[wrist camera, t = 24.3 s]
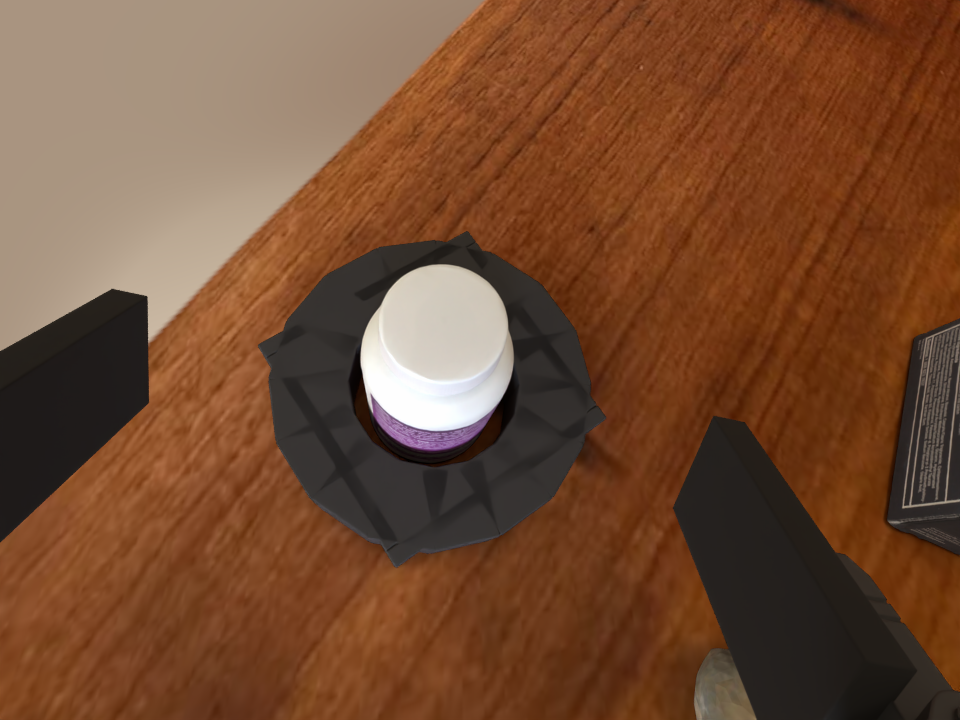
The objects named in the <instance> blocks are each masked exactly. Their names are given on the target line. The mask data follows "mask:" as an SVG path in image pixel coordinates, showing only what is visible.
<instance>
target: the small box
mask: <svg viewBox="0 0 960 720" xmlns="http://www.w3.org/2000/svg"><path fill="white" fill-rule="evenodd" d="M887 521H888V522H889V523H890V524H891V525H892V526H893V527H894V528H896V529H899V530H900V531H903V532H906V533H911V534H913V535H916V536H917V537H918V538H920V539H925V540H927V541H929V542H931V543H934V544H936V545H937V546H941V547H943V548H945V549H947V550H950V551H951V552H953V553H955V554H959V555H960V318H959V319H957V320H955V321H953V322H950V323H949V324H946V325H943V326H941V327H939V328H936V329H934V330H932V331H929V332H927V333H924V334H921V335H918V336H916V337H915V338H914V344H913V350H912V356H911V362H910V369H909V376H908V383H907V389H906V396H905V403H904V409H903V416H902V423H901V429H900V436H899V443H898V449H897V456H896V462H895V470H894V475H893V482H892V491H891V498H890V503H889V510H888V517H887Z"/></svg>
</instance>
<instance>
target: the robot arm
mask: <svg viewBox="0 0 960 720" xmlns="http://www.w3.org/2000/svg"><path fill="white" fill-rule="evenodd" d="M147 305H148V301H147V296H144V295H139V294H134V293H129V292H124V291H120V290H115V289H111V290H110V291H108V292H106V293H104V294H102V295H100V296H99V297H97V298H95V299H93V300H91V301H90V302H88V303H86V304H84V305H82V306H81V307H79V308H77V309H75V310H74V311H72V312H70V313H68V314H66V315H65V316H63V317H61V318H59V319H57V320H56V321H54V322H52V323H50V324H48V325H47V326H45V327H43V328H41V329H40V330H38V331H36V332H34V333H32V334H31V335H29V336H27V337H25V338H23V339H21V340H20V341H18V342H16V343H14V344H13V345H11V346H9V347H7V348H6V349H4V350H2V351H0V542H1V541H2V540H3V539H4V538H6V537H7V536H8V535H9V534H10V533H11V532H12V531H13V530H14V529H15V528H16V527H17V526H18V525H19V524H20V523H22V522H23V521H24V520H25V519H26V518H27V517H28V516H29V515H30V514H31V513H32V512H33V511H34V510H35V509H36V508H37V507H39V506H40V505H41V504H42V503H43V502H44V501H45V500H46V499H47V498H48V497H49V496H50V495H51V494H52V493H53V492H55V491H56V490H57V489H58V488H59V487H60V486H61V485H62V484H63V483H64V482H65V481H66V480H67V479H68V478H69V477H70V476H72V475H73V474H74V473H75V472H76V471H77V470H78V469H79V468H80V467H81V466H82V465H83V464H84V463H85V462H86V461H88V460H89V459H90V458H91V457H92V456H93V455H94V454H95V453H96V452H97V451H98V450H99V449H100V448H101V447H102V446H103V445H105V444H106V443H107V442H108V441H109V440H110V439H111V438H112V437H113V436H114V435H115V434H116V433H117V432H118V431H119V430H120V429H122V428H123V427H124V426H125V425H126V424H127V423H128V422H129V421H130V420H131V419H132V418H133V417H134V416H135V415H136V414H138V413H139V412H140V411H141V410H142V409H143V408H144V407H145V406H146V405H147V404H148V403H149V376H148V306H147ZM673 509H674V512H675V514H676V517H677V519H678V522H679V524H680V527H681V529H682V532H683V534H684V537H685V539H686V542H687V544H688V547H689V550H690V552H691V555H692V557H693V560H694V562H695V565H696V567H697V570H698V572H699V575H700V577H701V580H702V582H703V585H704V587H705V590H706V593H707V595H708V598H709V600H710V603H711V605H712V608H713V610H714V613H715V615H716V618H717V620H718V623H719V625H720V628H721V630H722V633H723V636H724V638H725V641H726V643H727V646H728V648H729V651H730V653H731V656H732V658H733V661H734V663H735V666H736V668H737V671H738V673H739V676H740V679H741V681H742V684H743V686H744V689H745V691H746V694H747V696H748V699H749V701H750V704H751V706H752V709H753V711H754V714H755V717H756V719H757V720H960V692H958V691H954V690H953V689H952V688H951V687H950V685H949V684H948V683H947V681H946V680H945V678H944V677H943V676H942V674H941V673H940V672H939V670H938V669H937V667H936V666H935V665H934V663H933V662H932V661H931V659H930V658H929V657H928V655H927V654H926V652H925V651H924V650H923V648H922V647H921V646H920V644H919V643H918V642H917V640H916V639H915V637H914V636H913V635H912V633H911V632H910V631H909V629H908V628H907V626H906V625H905V624H904V623H901V622H900V619H901V618H900V617H899V616H898V614H897V613H896V611H895V610H894V609H893V607H892V606H891V605H890V604H887V603H886V600H887V599H886V598H885V596H884V595H883V594H882V592H881V591H880V590H879V588H878V587H877V585H876V584H875V583H874V581H873V580H872V579H871V577H870V576H869V575H868V574H867V573H865V572H864V571H863V570H862V569H861V568H860V567H859V566H858V565H856V564H855V563H854V562H853V561H852V560H851V559H850V558H849V557H847V556H846V555H845V554H840V553H835V551H834V550H833V548H832V547H831V546H830V544H829V543H828V541H827V540H826V538H825V537H824V536H823V534H822V533H821V531H820V530H819V528H818V527H817V525H816V524H815V523H814V521H813V520H812V518H811V517H810V515H809V514H808V513H807V511H806V510H805V508H804V507H803V505H802V504H801V502H800V501H799V500H798V498H797V497H796V495H795V494H794V492H793V491H792V490H791V488H790V487H789V485H788V484H787V482H786V481H785V480H784V478H783V477H782V475H781V474H780V472H779V471H778V469H777V468H776V467H775V465H774V464H773V462H772V461H771V459H770V458H769V457H768V455H767V454H766V452H765V451H764V449H763V448H762V446H761V445H760V444H759V442H758V441H757V439H756V438H755V436H754V435H753V434H752V432H751V431H750V429H749V428H748V426H747V425H746V424H745V422H741V421H736V420H731V419H726V418H722V417H717V416H713V418H712V421H711V423H710V425H709V427H708V430H707V432H706V434H705V437H704V439H703V441H702V443H701V446H700V448H699V450H698V452H697V455H696V457H695V459H694V461H693V464H692V466H691V468H690V470H689V473H688V475H687V477H686V480H685V482H684V484H683V486H682V489H681V491H680V493H679V495H678V498H677V500H676V502H675V504H674V507H673Z"/></svg>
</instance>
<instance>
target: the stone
mask: <svg viewBox="0 0 960 720" xmlns="http://www.w3.org/2000/svg"><path fill="white" fill-rule="evenodd" d="M694 706H695V712H696V718H697V720H757V719H756V717H755V714H754V711H753V709H752V706H751V704H750V701H749V699H748V696H747V694H746V691H745V689H744V686H743V684H742V681H741V679H740V676H739V673H738V671H737V668H736V666H735V663H734V661H733V658H732V656H731V653H730V651H729V649H721V648H715V649H711V650H710V652H709V653H708V655H707V656H706V658H705V659H704V661H703V663H702V665H701V667H700V669H699V671H698V673H697V678H696V686H695V697H694Z"/></svg>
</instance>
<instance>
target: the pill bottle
mask: <svg viewBox="0 0 960 720" xmlns="http://www.w3.org/2000/svg"><path fill="white" fill-rule="evenodd" d="M513 363H514V352H513V344H512V340H511V336H510V333H509V331H508V318H507V314H506V310H505V307H504V304H503V302H502V300H501V298H500V296H499V295H498V293H497V292H496V290H495V289H494V288H493V287H492V286H491V285H490V284H489V283H488V282H487V281H486V280H485V279H483V278H482V277H480V276H479V275H478V274H476V273H474V272H472V271H470V270H467V269H465V268H462V267H459V266H454V265H441V264H438V265H429V266H425V267H420V268H417V269H415V270H413V271H411V272H409V273H407V274H406V275H404V276H403V277H401V278H400V279H399V280H398V281H397V282H396V283H395V284H394V285H393V286H392V287H391V288H390V290H389V291H388V292H387V294H386V296H385V298H384V300H383V302H382V305H381V306H380V307H379V309H378V310H377V311H376V312H375V314H374V315H373V317H372V318H371V320H370V321H369V323H368V326H367V328H366V330H365V333H364V336H363V340H362V347H361V368H362V373H363V379H364V385H365V390H366V396H367V402H368V408H369V413H370V418H371V422H372V425H373V427H374V429H375V431H376V433H377V435H378V436H379V438H380V439H381V440H382V442H383V443H384V444H385V445H386V446H387V447H388V448H389V449H391V450H392V451H393V452H395V453H396V454H398V455H400V456H402V457H404V458H406V459H409V460H413V461H416V462H423V463H437V462H442V461H446V460H449V459H452V458H454V457H456V456H458V455H459V454H461V453H463V452H464V451H466V450H467V449H468V448H469V447H470V446H471V445H472V444H473V443H474V442H475V441H476V440H477V438H478V437H479V436H480V434H481V433H482V431H483V429H484V427H485V426H486V424H487V422H488V421H489V419H490V417H491V415H492V414H493V412H494V411H495V409H496V407H497V406H498V404H499V403H500V401H501V399H502V397H503V395H504V393H505V391H506V389H507V387H508V384H509V382H510V379H511V375H512V371H513Z"/></svg>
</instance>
